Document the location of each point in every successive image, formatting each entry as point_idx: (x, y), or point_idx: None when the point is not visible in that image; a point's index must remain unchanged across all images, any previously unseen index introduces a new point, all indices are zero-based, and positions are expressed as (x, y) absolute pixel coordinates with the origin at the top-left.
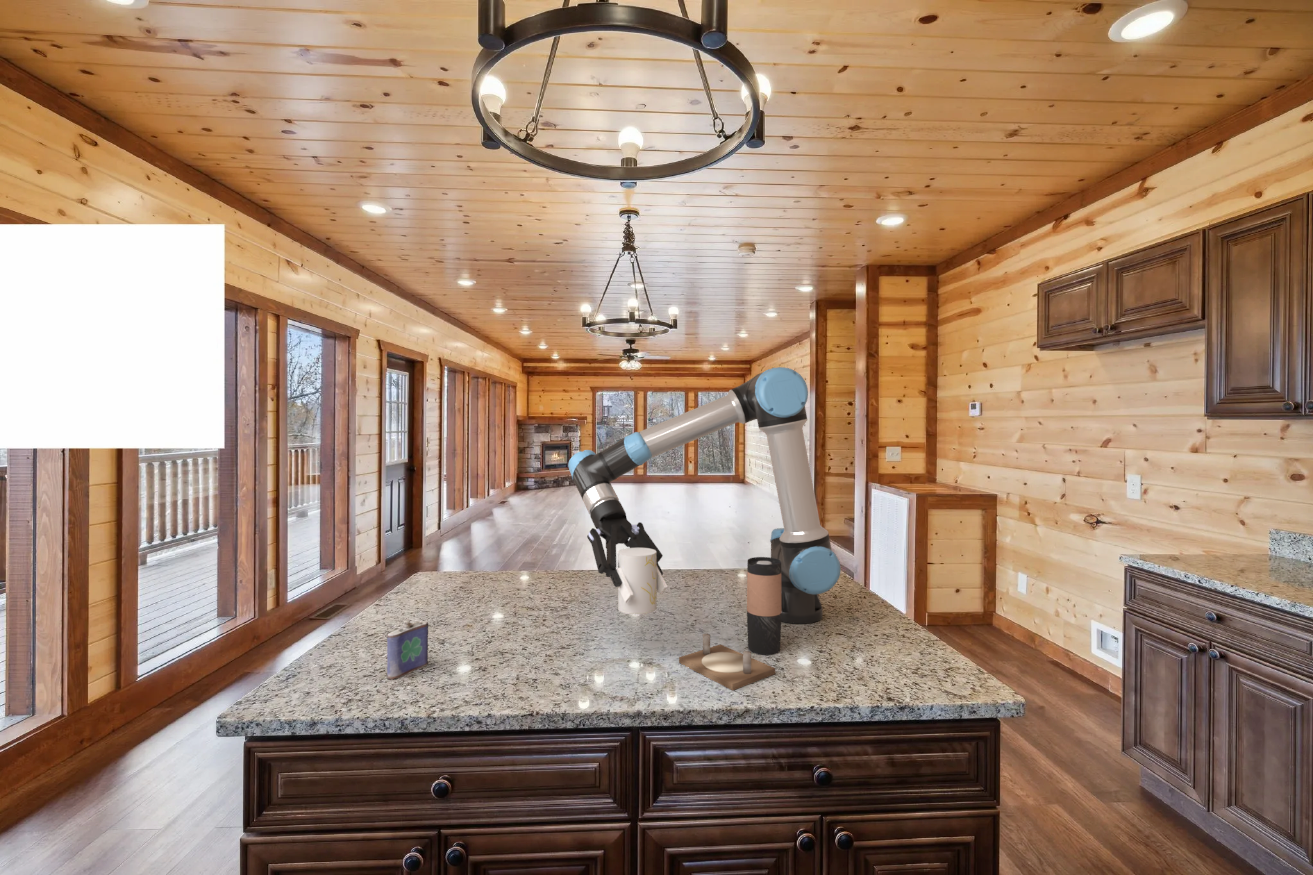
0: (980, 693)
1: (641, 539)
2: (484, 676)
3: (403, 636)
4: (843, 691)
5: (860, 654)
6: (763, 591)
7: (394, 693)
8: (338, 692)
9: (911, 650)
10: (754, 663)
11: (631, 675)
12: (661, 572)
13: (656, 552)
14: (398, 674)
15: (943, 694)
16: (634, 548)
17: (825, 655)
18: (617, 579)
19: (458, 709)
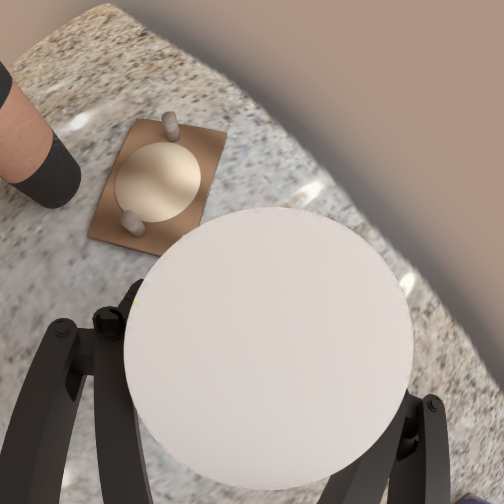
0: (99, 13)
1: (48, 491)
2: None
3: None
4: (147, 59)
5: (38, 95)
6: (29, 104)
7: (488, 459)
8: (499, 483)
9: (18, 75)
10: (135, 146)
11: None
12: (138, 287)
13: (64, 351)
14: (468, 495)
15: (112, 21)
16: (200, 450)
17: (52, 115)
18: None
19: (486, 384)
